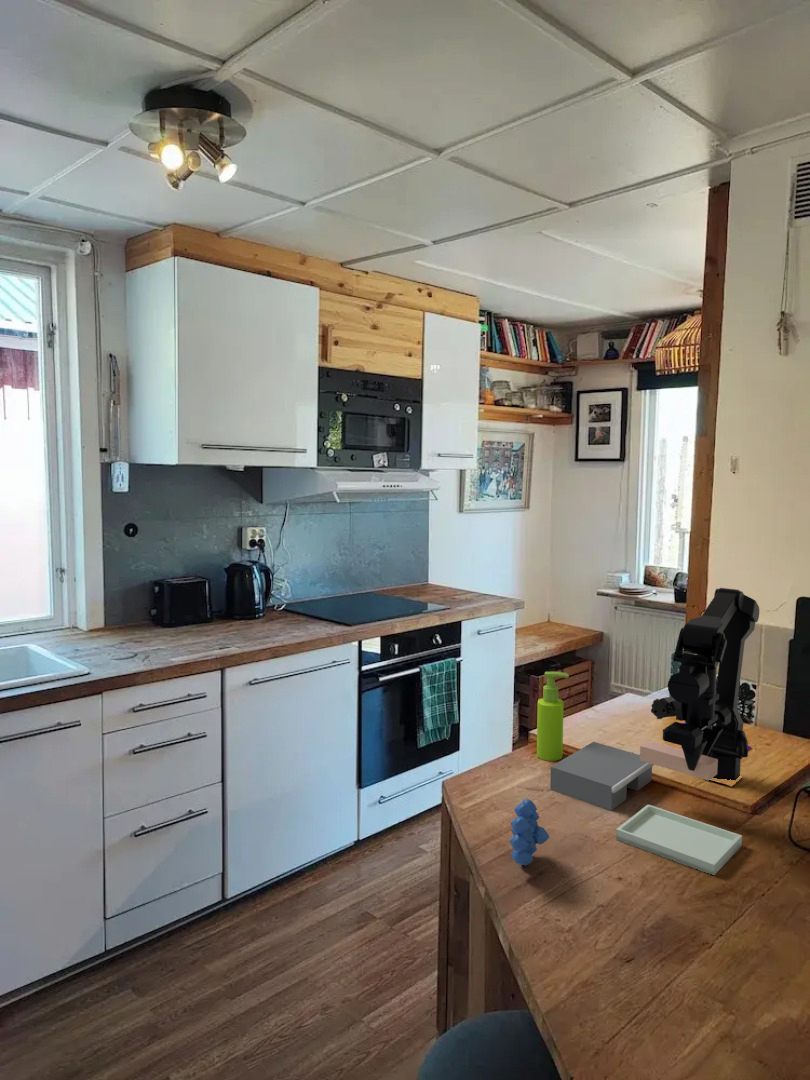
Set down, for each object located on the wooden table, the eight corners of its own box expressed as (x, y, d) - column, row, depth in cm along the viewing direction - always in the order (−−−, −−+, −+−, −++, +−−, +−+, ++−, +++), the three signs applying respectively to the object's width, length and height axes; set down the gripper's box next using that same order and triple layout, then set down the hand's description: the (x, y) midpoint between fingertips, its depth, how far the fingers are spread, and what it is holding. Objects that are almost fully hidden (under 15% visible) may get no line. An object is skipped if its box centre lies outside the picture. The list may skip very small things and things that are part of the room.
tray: (741, 845, 141) (742, 835, 141) (713, 875, 132) (714, 864, 131) (647, 813, 153) (647, 804, 153) (615, 839, 144) (616, 829, 143)
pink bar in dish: (717, 774, 150) (717, 759, 150) (708, 780, 147) (709, 765, 147) (648, 754, 160) (649, 740, 159) (639, 760, 157) (640, 745, 157)
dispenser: (655, 781, 167) (656, 759, 166) (615, 812, 154) (615, 788, 153) (593, 762, 177) (593, 741, 176) (550, 789, 164) (550, 766, 163)
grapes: (542, 888, 129) (543, 819, 127) (502, 879, 131) (502, 812, 129) (555, 852, 139) (556, 789, 138) (518, 845, 142) (519, 783, 140)
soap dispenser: (566, 762, 177) (568, 677, 175) (536, 759, 179) (537, 675, 176) (566, 752, 183) (568, 669, 180) (537, 749, 185) (538, 668, 182)
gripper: (679, 669, 161) (675, 741, 163) (637, 691, 148) (634, 770, 150) (733, 680, 154) (729, 756, 156) (695, 705, 140) (692, 787, 142)
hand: (695, 766), depth 151 cm, fingers closed on pink bar in dish, 4 cm apart
